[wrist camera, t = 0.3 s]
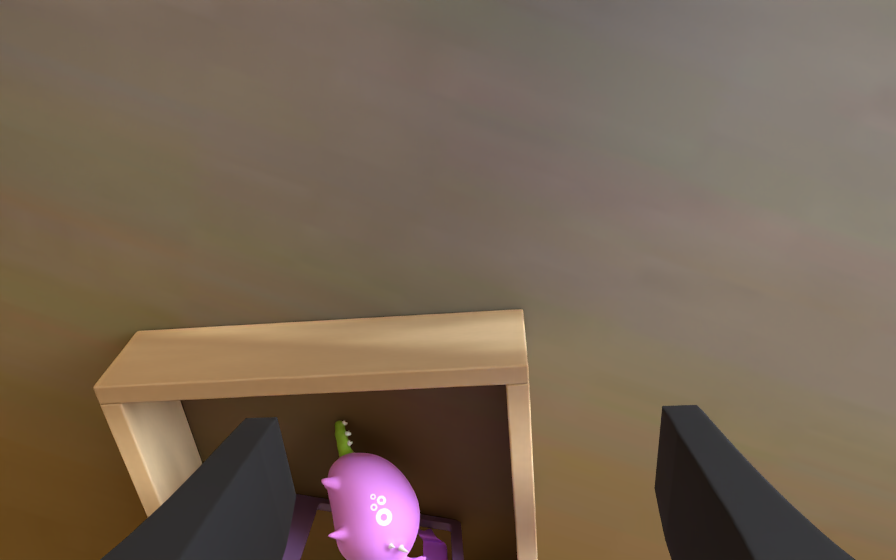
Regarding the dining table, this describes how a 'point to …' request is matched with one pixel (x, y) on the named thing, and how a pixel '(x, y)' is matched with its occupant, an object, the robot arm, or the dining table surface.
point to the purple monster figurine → (370, 511)
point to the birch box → (310, 383)
